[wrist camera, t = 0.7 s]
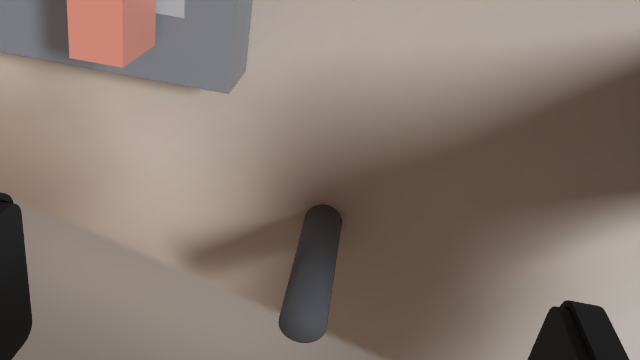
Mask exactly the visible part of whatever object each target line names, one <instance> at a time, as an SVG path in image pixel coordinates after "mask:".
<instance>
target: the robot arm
mask: <svg viewBox="0 0 640 360" xmlns="http://www.w3.org/2000/svg"><path fill="white" fill-rule="evenodd" d="M25 255H26V254H25V245H24V234H23V224H22V215H21V209H20V207H19V206H18V205H17V204H13V200H12V198H11V197H10V196H9V195H8V194H5V193H0V360H11V359H12V358H13V357H14V356H15V354H16V353H17V352H18V350H19V349H20V348H21V347H22V345H23V344H24V343H25V341H26V340H27V338H28V336H29V334H30V331H31V326H32V314H31V304H30V294H29V284H28V275H27V264H26V256H25ZM528 360H629V358H628V356H627V354H626V352H625V350H624V348H623V346H622V344H621V342H620V340H619V338H618V336H617V334H616V332H615V330H614V328H613V326H612V324H611V322H610V320H609V318H608V316H607V314H606V312H605V311H604V309H603V308H602V307H599V306H595V305H590V304H585V303H579V302H574V301H569V300H568V301H564V302H563V303H562V304H561V306H560V307H552V308H551V309H550V310H549V312H548V314H547V316H546V318H545V321H544V323H543V325H542V328H541V330H540V332H539V335H538V337H537V339H536V342H535V344H534V346H533V348H532V351H531V353H530V355H529V358H528Z"/></svg>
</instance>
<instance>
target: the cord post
mask: <svg viewBox="0 0 640 360" xmlns="http://www.w3.org/2000/svg"><path fill="white" fill-rule="evenodd" d="M341 224H342V220H341V216H340V214H339V213H338V212H337V211H336V210H335V209H334V208H332V207H330V206H327V205H317V206H314V207H312V208H311V209H310V210H309V211H308V212H307V213H306V216H305V220H304V224H303V228H302V231H301V235H300V239H299V243H298V247H297V251H296V255H295V259H294V263H293V267H292V270H291V274H290V278H289V282H288V286H287V290H286V294H285V298H284V302H283V305H282V309H281V313H280V317H279V327H280V329H281V331H282V333H283V334H284V335H285V336H286V337H288V338H289V339H291V340H293V341H296V342H300V343H310V342H314V341H316V340H318V339H320V338H321V337H322V336H323V335H324V333H325V331H326V327H327V320H328V313H329V306H330V299H331V293H332V286H333V279H334V272H335V265H336V258H337V251H338V245H339V238H340V231H341Z"/></svg>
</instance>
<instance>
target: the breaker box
mask: <svg viewBox="0 0 640 360" xmlns="http://www.w3.org/2000/svg"><path fill="white" fill-rule="evenodd" d="M251 9H252V0H156V29H155V46H153V47H152V48H150V49H149V50H147V51H146V52H145V53H143V54H142V55H140V56H139V57H137V58H136V59H135V60H133V61H132V62H130V63H129V64H127V65H126V66H125V67H123V68H121V67H115V66H110V65H105V64H99V63H94V62H88V61H83V60H77V59H72V58H69V38H68V17H67V0H0V52H4V53H9V54H15V55H20V56H25V57H31V58H36V59H42V60H47V61H53V62H58V63H63V64H69V65H74V66H80V67H85V68H91V69H96V70H101V71H107V72H112V73H118V74H123V75H129V76H134V77H139V78H145V79H150V80H156V81H161V82H167V83H172V84H177V85H183V86H188V87H194V88H199V89H204V90H210V91H215V92H221V93H226V94H229V93H230V91H231V90H232V89H233V87H234V86H235V85H236V83H237V82H238V81H239V79H240V78H241V77H242V75H243V74H244V73H245V71H246V60H247V50H248V40H249V29H250V19H251Z"/></svg>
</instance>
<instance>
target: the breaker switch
mask: <svg viewBox="0 0 640 360" xmlns="http://www.w3.org/2000/svg"><path fill="white" fill-rule="evenodd" d="M67 17H68V38H69V58H72V59H77V60H83V61H88V62H94V63H99V64H105V65H110V66H115V67H121V68H123V67H125V66H126V65H127V64H129V63H130V62H132V61H133V60H135V59H136V58H137V57H139V56H140V55H142V54H143V53H145V52H146V51H147V50H149V49H150V48H152V47H153V46H155V29H156V0H67Z"/></svg>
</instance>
